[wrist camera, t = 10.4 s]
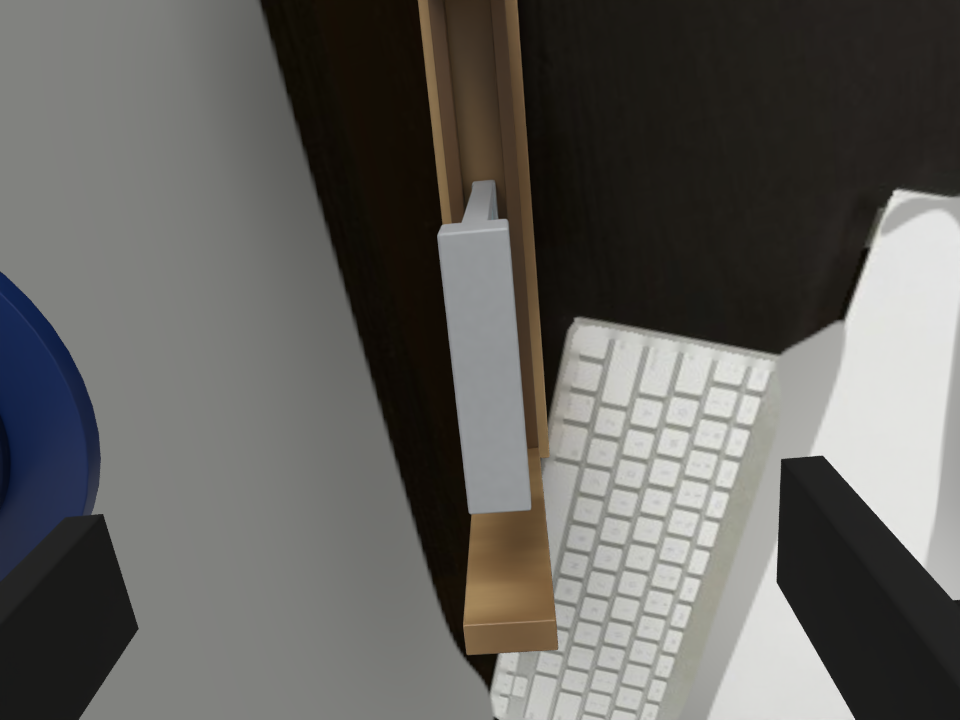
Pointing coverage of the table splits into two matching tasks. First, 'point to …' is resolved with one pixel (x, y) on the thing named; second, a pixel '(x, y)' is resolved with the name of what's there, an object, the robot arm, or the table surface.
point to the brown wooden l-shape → (504, 158)
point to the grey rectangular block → (485, 355)
